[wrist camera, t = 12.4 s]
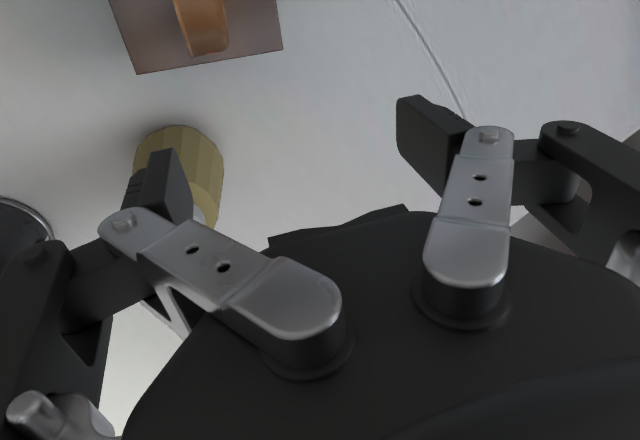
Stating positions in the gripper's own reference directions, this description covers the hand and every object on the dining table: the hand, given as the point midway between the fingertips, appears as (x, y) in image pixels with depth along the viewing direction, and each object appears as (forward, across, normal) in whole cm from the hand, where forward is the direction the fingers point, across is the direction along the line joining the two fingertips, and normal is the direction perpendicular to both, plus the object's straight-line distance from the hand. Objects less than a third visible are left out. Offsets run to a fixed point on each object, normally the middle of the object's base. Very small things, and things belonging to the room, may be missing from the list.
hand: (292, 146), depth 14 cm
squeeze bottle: (+26, +8, +10) cm, 29 cm away
